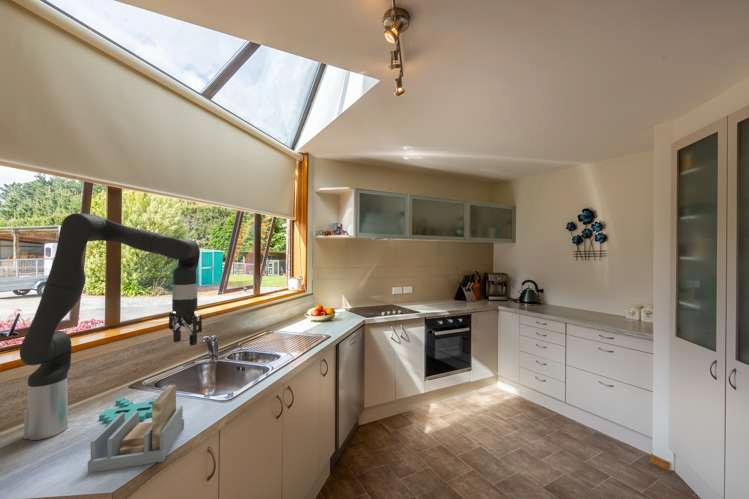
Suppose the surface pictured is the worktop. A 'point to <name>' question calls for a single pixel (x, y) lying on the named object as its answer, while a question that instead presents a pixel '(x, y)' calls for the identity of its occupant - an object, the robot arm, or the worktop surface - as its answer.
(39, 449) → the worktop surface
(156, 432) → the light wooden flat slab
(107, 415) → the alien figure
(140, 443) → the offcut stack
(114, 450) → the rack
